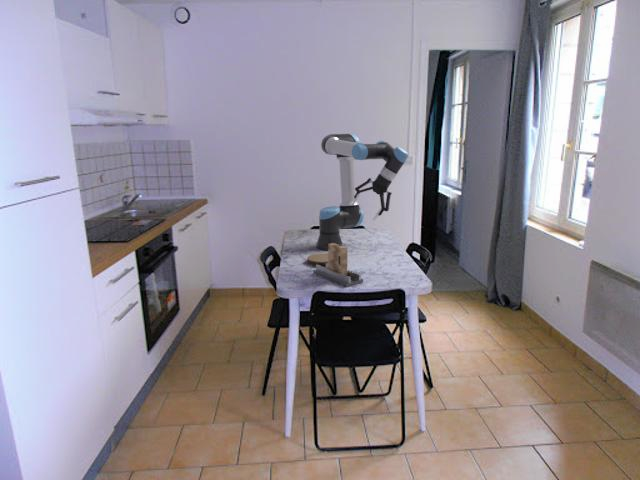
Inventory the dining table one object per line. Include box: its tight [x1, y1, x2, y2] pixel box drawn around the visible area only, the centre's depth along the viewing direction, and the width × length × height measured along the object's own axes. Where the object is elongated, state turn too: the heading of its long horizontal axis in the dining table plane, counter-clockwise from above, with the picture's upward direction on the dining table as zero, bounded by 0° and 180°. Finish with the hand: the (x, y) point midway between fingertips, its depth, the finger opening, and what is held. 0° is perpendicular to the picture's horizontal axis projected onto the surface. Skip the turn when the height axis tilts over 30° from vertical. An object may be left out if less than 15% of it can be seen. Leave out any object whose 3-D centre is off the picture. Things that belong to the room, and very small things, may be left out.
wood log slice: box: [306, 252, 328, 268], centre depth 232 cm, size 16×16×3 cm
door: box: [327, 243, 348, 276], centre depth 206 cm, size 10×3×14 cm, turn 38°
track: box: [312, 263, 364, 288], centre depth 208 cm, size 24×10×4 cm, turn 37°
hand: (363, 212), depth 230 cm, fingers open, 13 cm apart
